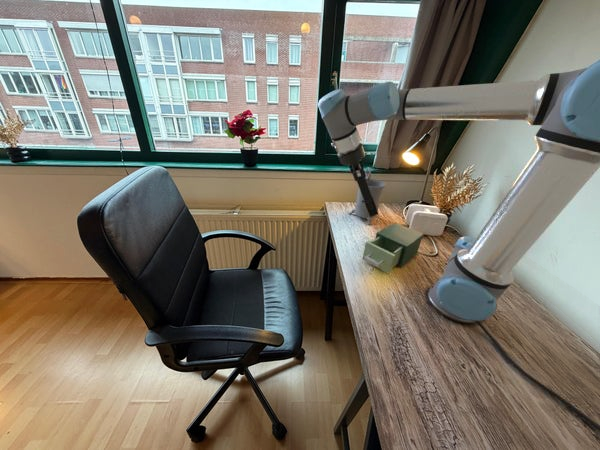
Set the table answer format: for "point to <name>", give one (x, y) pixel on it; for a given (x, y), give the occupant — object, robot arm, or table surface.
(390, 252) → the drawer
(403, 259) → the cabinet
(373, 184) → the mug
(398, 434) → the table surface
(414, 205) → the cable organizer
